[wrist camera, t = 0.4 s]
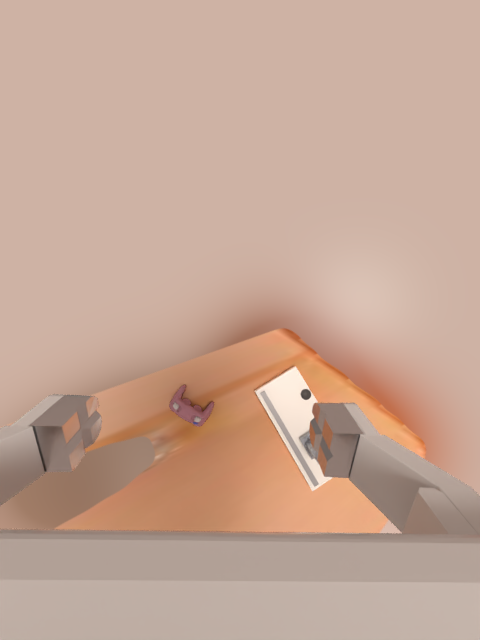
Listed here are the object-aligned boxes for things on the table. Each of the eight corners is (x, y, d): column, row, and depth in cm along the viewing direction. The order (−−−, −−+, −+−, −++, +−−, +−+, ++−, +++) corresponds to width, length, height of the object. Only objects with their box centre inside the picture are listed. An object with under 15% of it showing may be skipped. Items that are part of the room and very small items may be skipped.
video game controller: (176, 395, 60) (162, 411, 54) (183, 381, 59) (169, 397, 52) (209, 414, 60) (199, 434, 53) (216, 402, 58) (207, 420, 51)
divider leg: (335, 440, 55) (347, 451, 49) (310, 457, 55) (319, 470, 48) (323, 421, 56) (334, 429, 50) (298, 438, 55) (306, 448, 49)
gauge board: (350, 459, 57) (369, 475, 49) (309, 486, 56) (322, 507, 48) (293, 366, 60) (302, 367, 52) (254, 390, 59) (257, 395, 51)
